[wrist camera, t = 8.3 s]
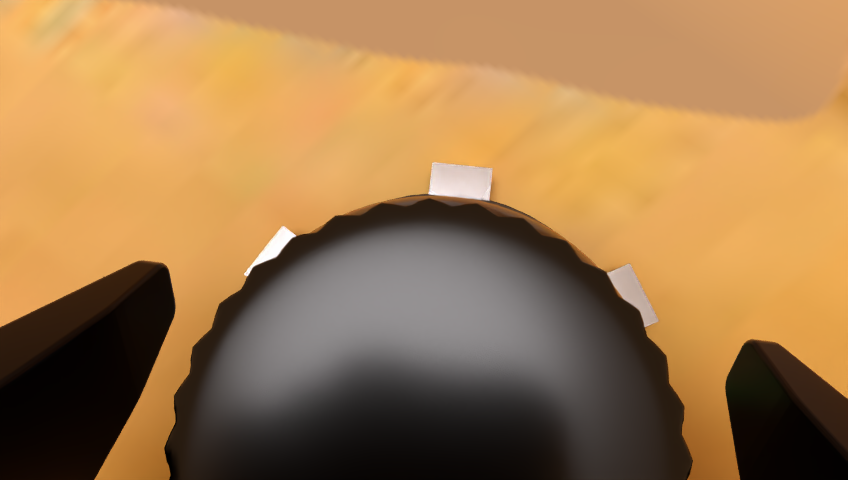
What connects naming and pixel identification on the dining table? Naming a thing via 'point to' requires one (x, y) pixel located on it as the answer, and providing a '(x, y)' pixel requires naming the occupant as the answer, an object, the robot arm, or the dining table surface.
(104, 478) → the dining table surface
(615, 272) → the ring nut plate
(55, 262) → the dining table surface
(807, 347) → the dining table surface
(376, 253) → the supplement bottle
